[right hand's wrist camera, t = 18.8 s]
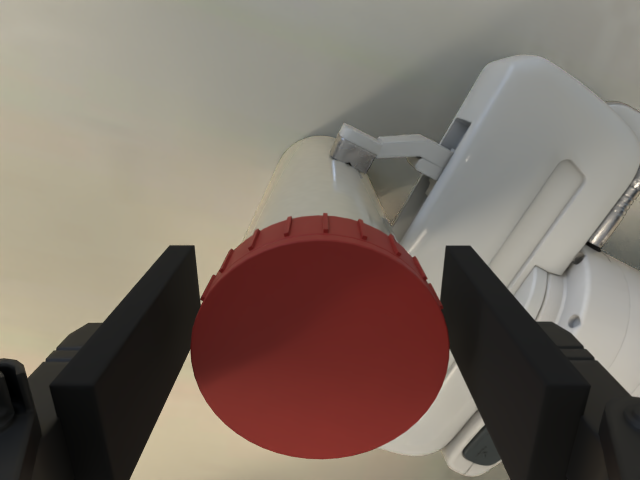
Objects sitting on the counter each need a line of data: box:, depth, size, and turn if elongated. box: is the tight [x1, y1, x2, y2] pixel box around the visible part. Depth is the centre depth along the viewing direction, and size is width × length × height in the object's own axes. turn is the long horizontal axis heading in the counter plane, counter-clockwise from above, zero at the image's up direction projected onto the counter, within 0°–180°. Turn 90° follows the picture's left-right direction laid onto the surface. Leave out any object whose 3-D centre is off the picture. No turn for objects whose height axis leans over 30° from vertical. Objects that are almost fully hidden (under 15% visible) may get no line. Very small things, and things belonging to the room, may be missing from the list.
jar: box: [242, 136, 398, 243], centre depth 19 cm, size 6×6×17 cm
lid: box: [190, 213, 450, 459], centre depth 11 cm, size 6×6×2 cm
